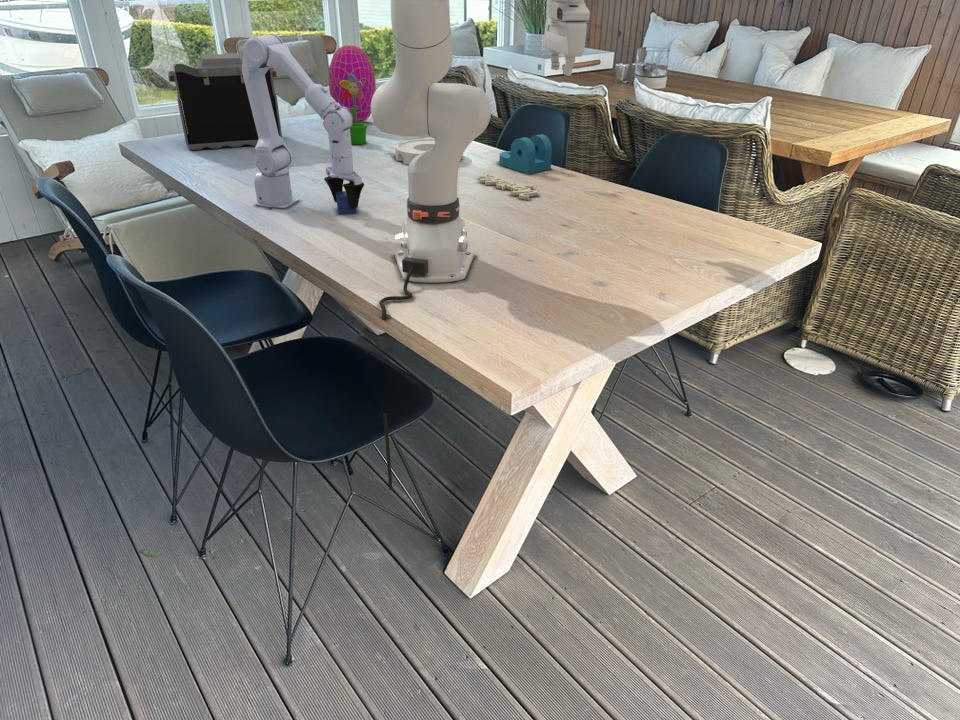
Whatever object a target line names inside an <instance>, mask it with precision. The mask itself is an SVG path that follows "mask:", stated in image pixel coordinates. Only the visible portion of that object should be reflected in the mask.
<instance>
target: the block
mask: <svg viewBox="0 0 960 720" xmlns="http://www.w3.org/2000/svg"><path fill="white" fill-rule="evenodd" d="M336 199H337V203H336V207H337V208H336V209H337V214H338V215H350V214H351V215H352V214H358V213H357V208H354V209H350V206H349V201H348V196H347V193H346V191H345V190H342V191H338V192H336Z"/></svg>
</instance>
